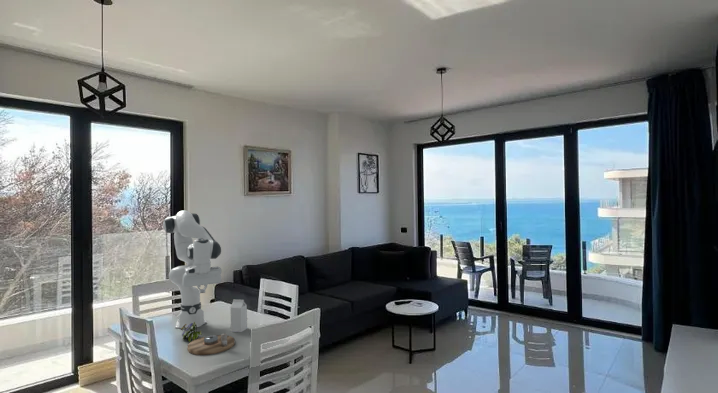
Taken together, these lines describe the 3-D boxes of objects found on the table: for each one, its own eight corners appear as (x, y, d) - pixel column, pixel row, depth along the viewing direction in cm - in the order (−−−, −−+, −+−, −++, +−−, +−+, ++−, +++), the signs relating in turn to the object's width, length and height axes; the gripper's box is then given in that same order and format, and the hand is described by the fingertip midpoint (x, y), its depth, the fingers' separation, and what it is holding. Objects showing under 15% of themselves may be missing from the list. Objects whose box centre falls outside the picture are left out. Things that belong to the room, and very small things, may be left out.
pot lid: (201, 343, 218) (201, 338, 218) (211, 339, 224) (211, 334, 224) (210, 346, 215) (210, 340, 215) (220, 341, 221) (220, 336, 221)
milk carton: (241, 332, 242) (241, 301, 242) (230, 332, 244) (230, 300, 244) (247, 328, 249) (246, 298, 249) (236, 328, 251) (236, 297, 251)
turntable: (177, 350, 215) (177, 335, 215) (214, 336, 236) (213, 322, 236) (208, 358, 204) (208, 342, 204) (243, 342, 224) (243, 328, 224)
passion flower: (184, 349, 233) (181, 329, 238) (204, 342, 237) (200, 323, 243) (182, 343, 224) (178, 323, 229) (202, 336, 228) (198, 317, 234)
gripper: (220, 265, 232) (220, 289, 233) (181, 268, 222) (181, 293, 222) (222, 267, 227) (222, 291, 227) (183, 271, 216) (183, 296, 217)
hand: (202, 292), depth 225 cm, fingers closed
